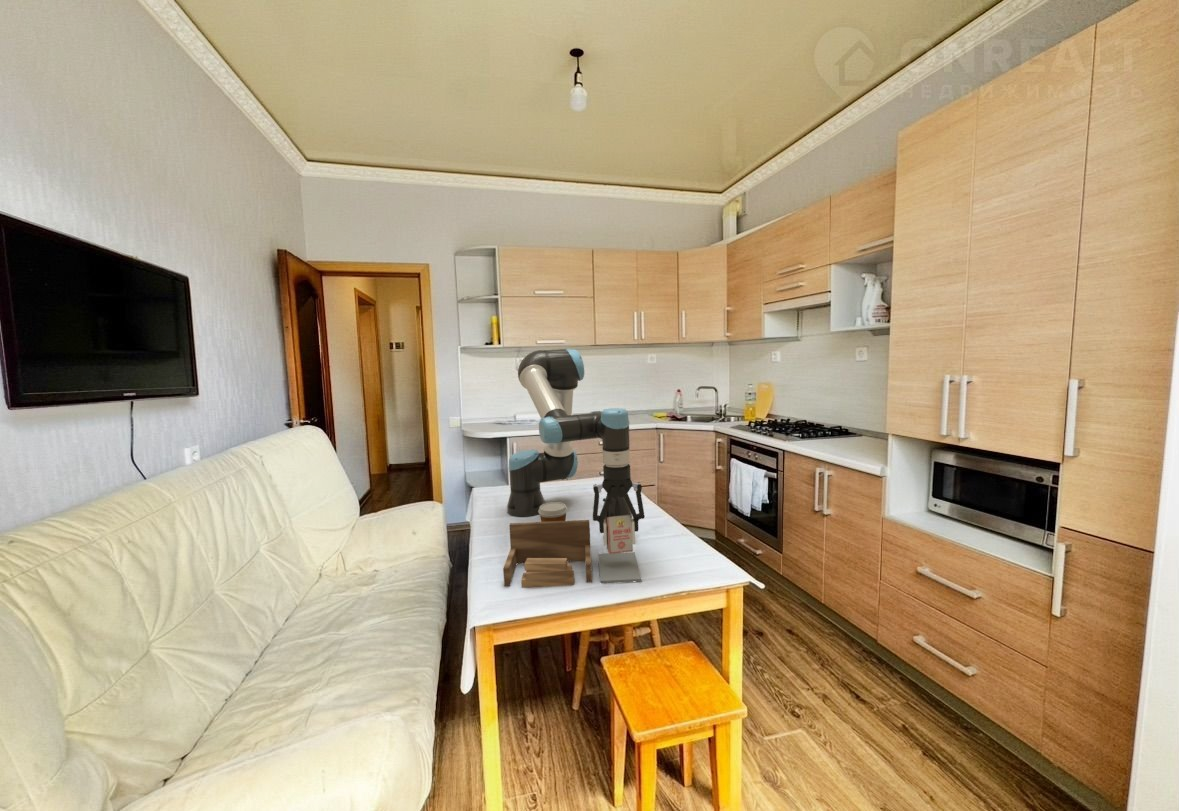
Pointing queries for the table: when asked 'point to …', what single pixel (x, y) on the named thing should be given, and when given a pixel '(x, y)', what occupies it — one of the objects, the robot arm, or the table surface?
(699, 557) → the table surface
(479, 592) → the table surface
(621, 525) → the tea bag
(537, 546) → the bench
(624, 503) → the pump dispenser
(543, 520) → the disposable coffee cup
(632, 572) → the mat
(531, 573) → the offcut stack
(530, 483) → the robot arm
